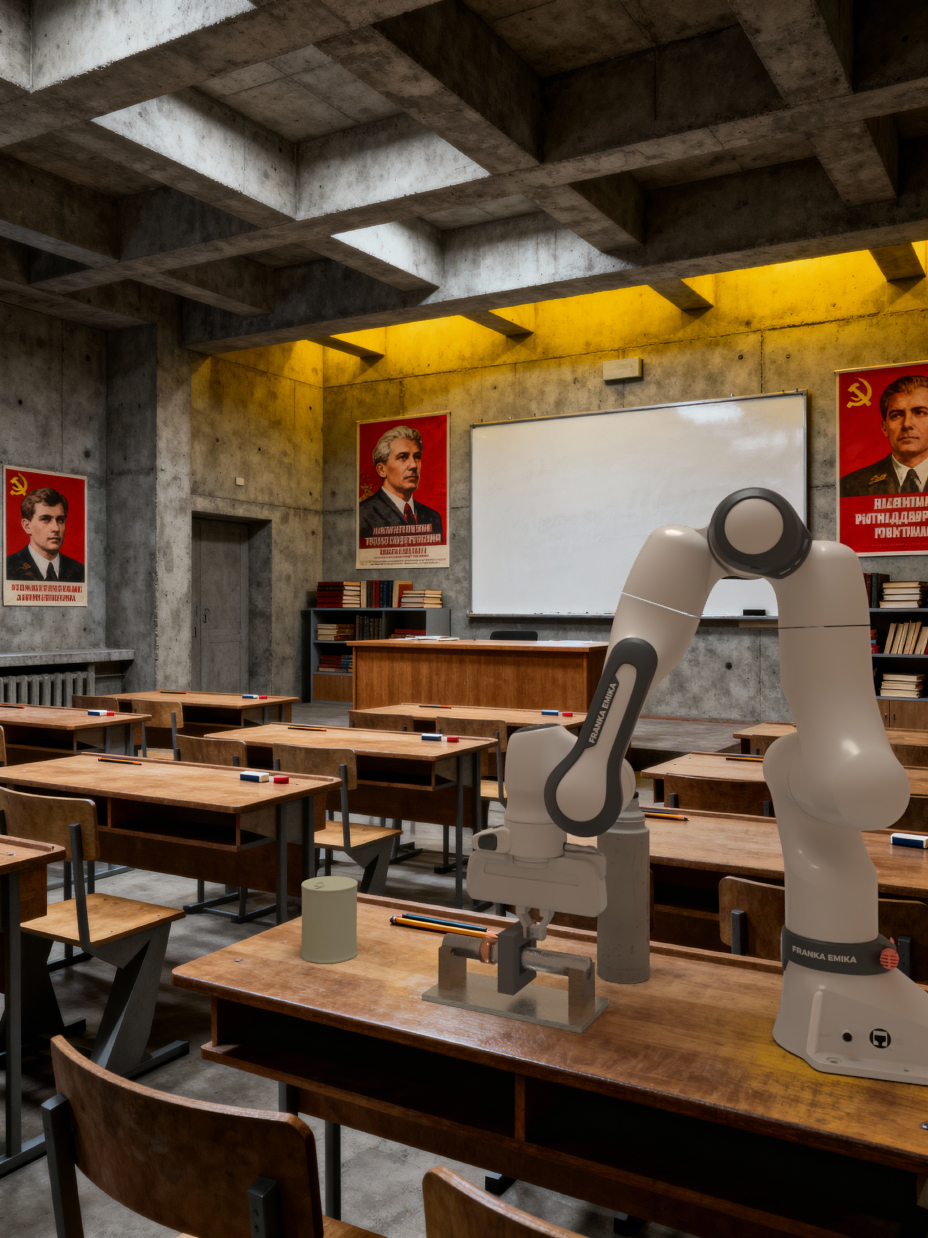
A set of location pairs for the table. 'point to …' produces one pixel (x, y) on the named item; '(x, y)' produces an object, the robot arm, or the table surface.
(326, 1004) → the table surface
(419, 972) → the table surface
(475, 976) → the rail
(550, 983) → the table surface
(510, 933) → the collar
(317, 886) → the can
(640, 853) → the thermos bottle
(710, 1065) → the table surface
